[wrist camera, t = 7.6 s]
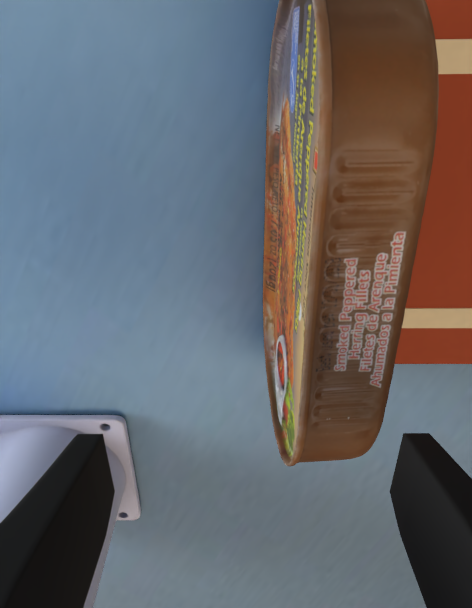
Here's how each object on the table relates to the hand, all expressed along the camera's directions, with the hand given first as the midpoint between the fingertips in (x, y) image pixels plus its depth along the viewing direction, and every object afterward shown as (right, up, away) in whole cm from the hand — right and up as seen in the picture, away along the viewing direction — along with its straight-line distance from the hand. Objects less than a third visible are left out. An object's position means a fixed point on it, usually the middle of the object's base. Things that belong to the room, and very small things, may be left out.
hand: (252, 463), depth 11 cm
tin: (+2, +8, +7) cm, 11 cm away
